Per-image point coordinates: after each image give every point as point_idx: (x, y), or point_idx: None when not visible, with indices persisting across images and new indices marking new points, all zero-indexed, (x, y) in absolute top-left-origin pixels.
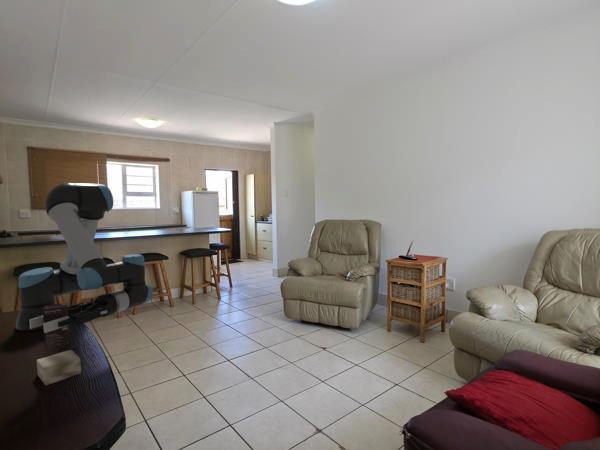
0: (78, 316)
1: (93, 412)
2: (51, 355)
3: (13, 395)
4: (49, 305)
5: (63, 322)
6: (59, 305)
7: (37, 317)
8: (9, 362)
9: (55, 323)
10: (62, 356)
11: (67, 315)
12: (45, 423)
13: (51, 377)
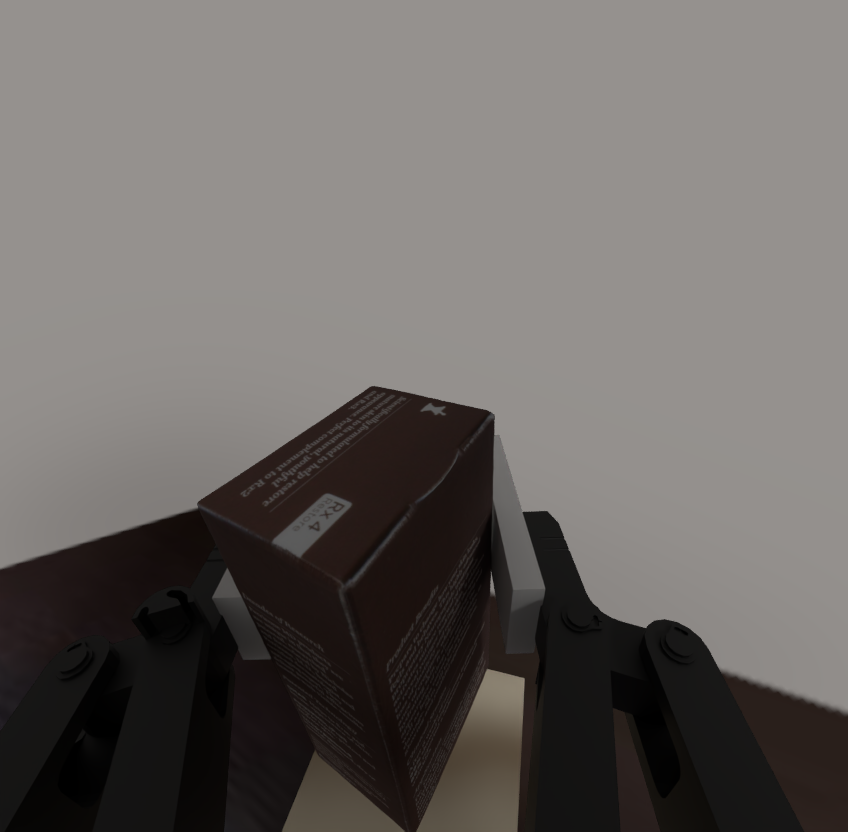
0: (62, 660)
1: (18, 661)
2: (518, 769)
3: None
4: (451, 430)
5: (217, 551)
6: (328, 472)
7: (502, 469)
8: (822, 720)
9: None
10: (431, 806)
11: (244, 600)
12: (172, 565)
13: None
